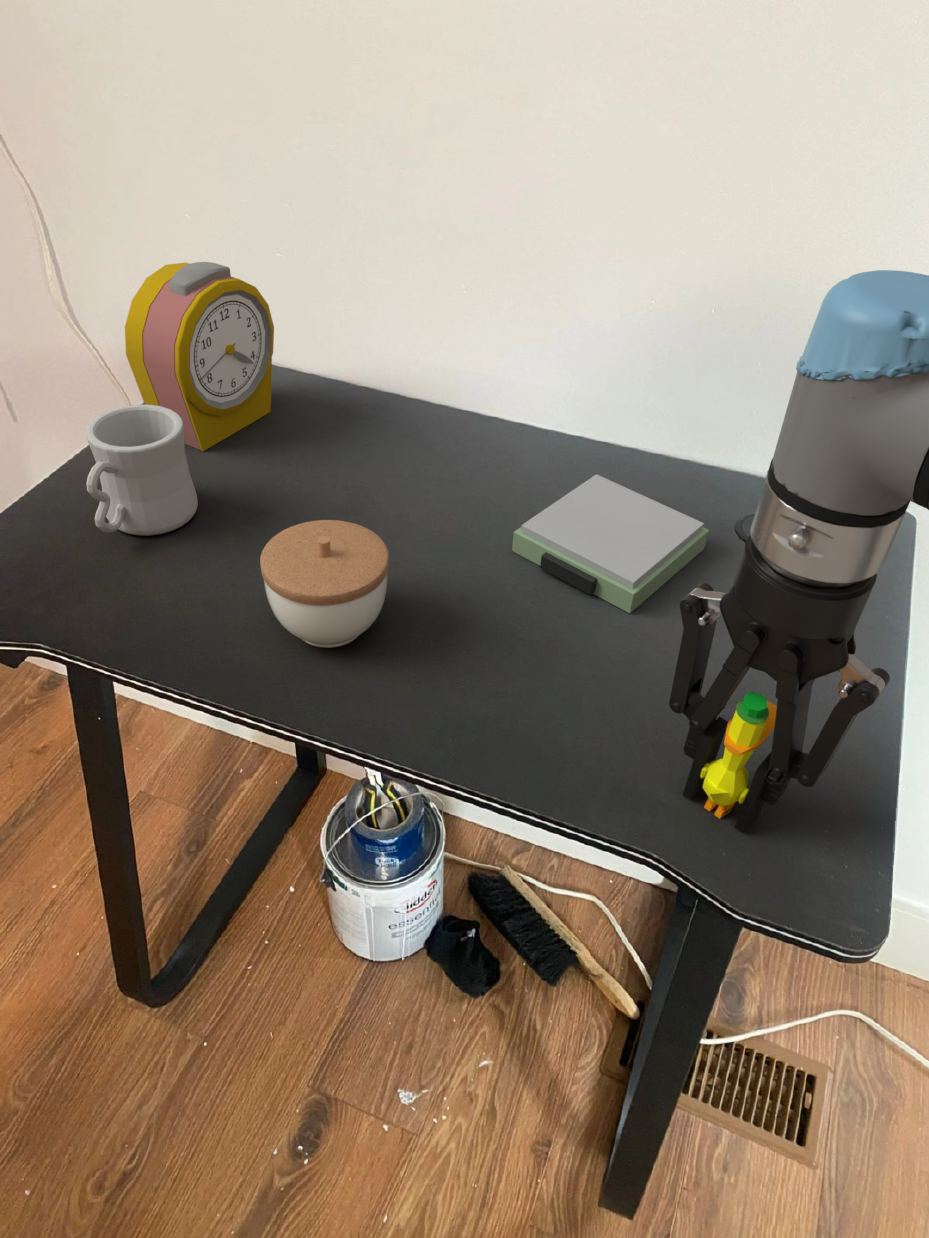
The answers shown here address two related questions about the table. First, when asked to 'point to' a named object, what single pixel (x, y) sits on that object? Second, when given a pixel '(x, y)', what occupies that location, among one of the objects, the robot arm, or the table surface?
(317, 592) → the trinket box
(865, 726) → the table surface
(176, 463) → the mug
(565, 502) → the kitchen scale
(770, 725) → the toy figure
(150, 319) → the alarm clock
